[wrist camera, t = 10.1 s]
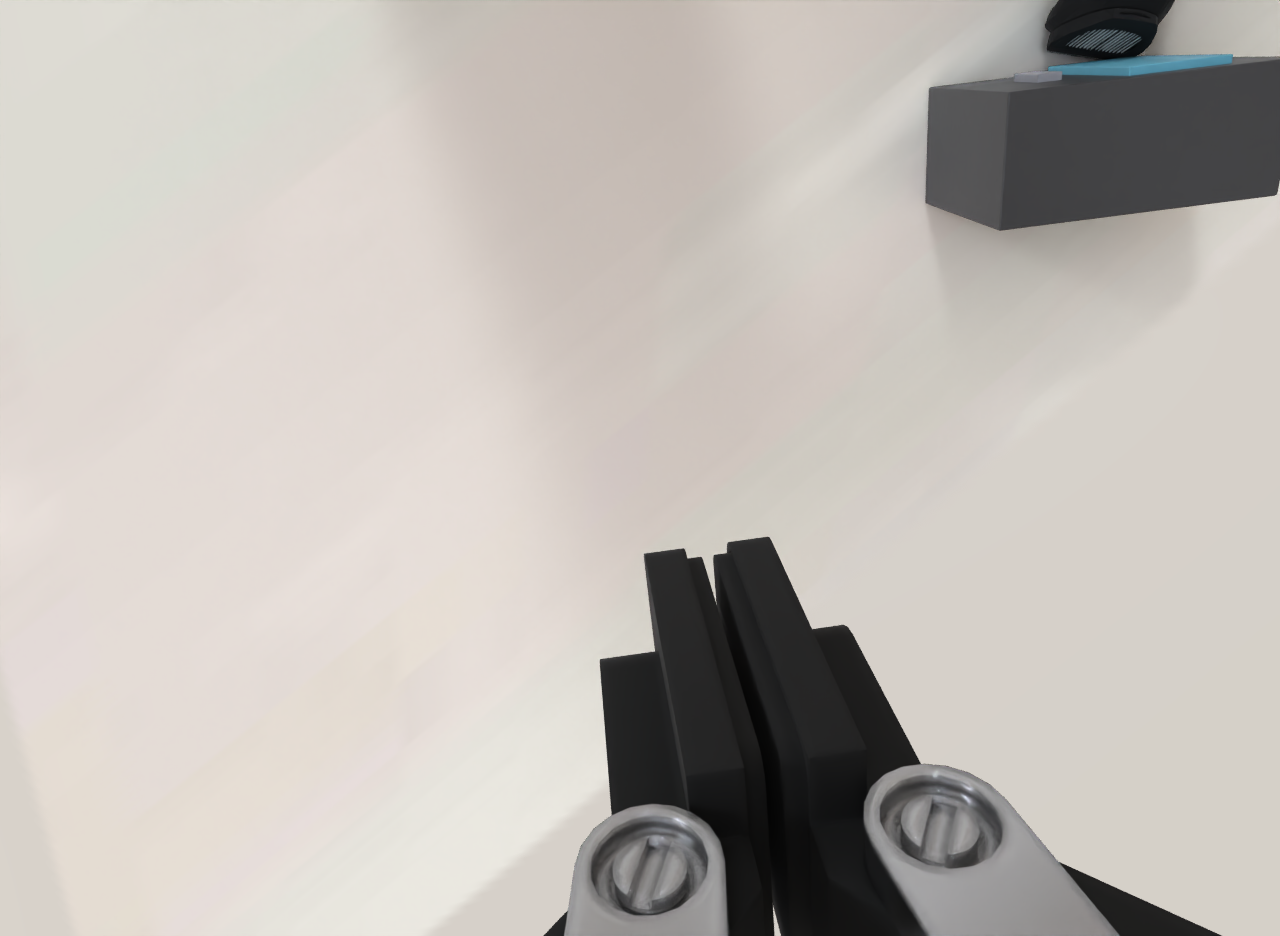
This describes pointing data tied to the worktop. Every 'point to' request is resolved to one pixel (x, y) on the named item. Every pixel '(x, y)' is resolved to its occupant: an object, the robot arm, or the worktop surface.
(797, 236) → the worktop surface
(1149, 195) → the dark grey box
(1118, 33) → the electric trimmer
